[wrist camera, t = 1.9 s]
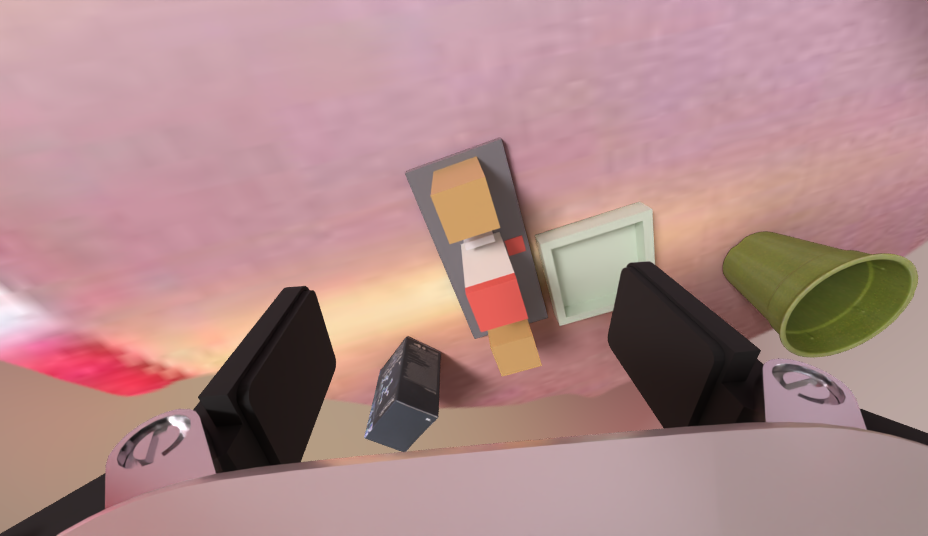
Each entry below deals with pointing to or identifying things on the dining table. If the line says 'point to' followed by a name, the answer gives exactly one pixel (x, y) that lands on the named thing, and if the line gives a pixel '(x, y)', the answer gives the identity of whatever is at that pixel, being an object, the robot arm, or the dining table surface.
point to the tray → (593, 259)
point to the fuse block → (481, 237)
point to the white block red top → (492, 285)
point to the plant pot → (820, 290)
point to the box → (405, 396)
